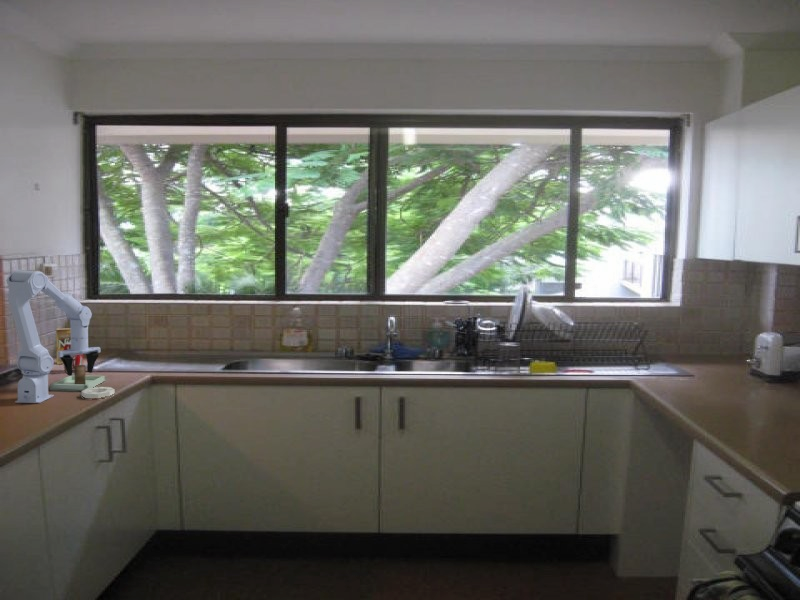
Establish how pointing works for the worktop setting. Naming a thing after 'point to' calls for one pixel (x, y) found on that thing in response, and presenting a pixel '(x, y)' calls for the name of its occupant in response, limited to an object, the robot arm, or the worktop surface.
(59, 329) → the candy box
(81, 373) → the dowel pin
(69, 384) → the tray
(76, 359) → the soda can
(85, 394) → the white octagonal ring
